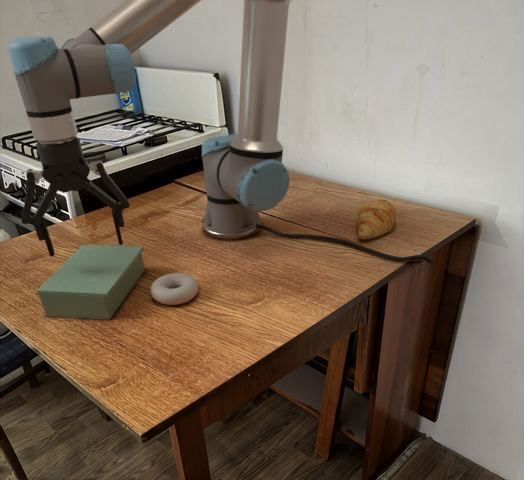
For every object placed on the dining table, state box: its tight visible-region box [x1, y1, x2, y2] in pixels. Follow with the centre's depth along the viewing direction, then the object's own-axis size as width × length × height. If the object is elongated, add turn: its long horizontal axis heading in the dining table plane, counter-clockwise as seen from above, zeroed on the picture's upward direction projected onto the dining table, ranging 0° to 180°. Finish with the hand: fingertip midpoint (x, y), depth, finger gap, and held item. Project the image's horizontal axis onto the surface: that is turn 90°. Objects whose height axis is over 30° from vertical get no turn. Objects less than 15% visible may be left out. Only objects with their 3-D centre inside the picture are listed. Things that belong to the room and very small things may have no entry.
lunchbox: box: [38, 253, 146, 321], centre depth 107 cm, size 14×21×5 cm, turn 171°
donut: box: [150, 272, 199, 306], centre depth 105 cm, size 10×4×10 cm
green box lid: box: [36, 244, 145, 297], centre depth 105 cm, size 14×21×1 cm
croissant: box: [355, 199, 397, 240], centre depth 127 cm, size 21×10×8 cm, turn 153°
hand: (87, 247), depth 102 cm, fingers open, 13 cm apart
